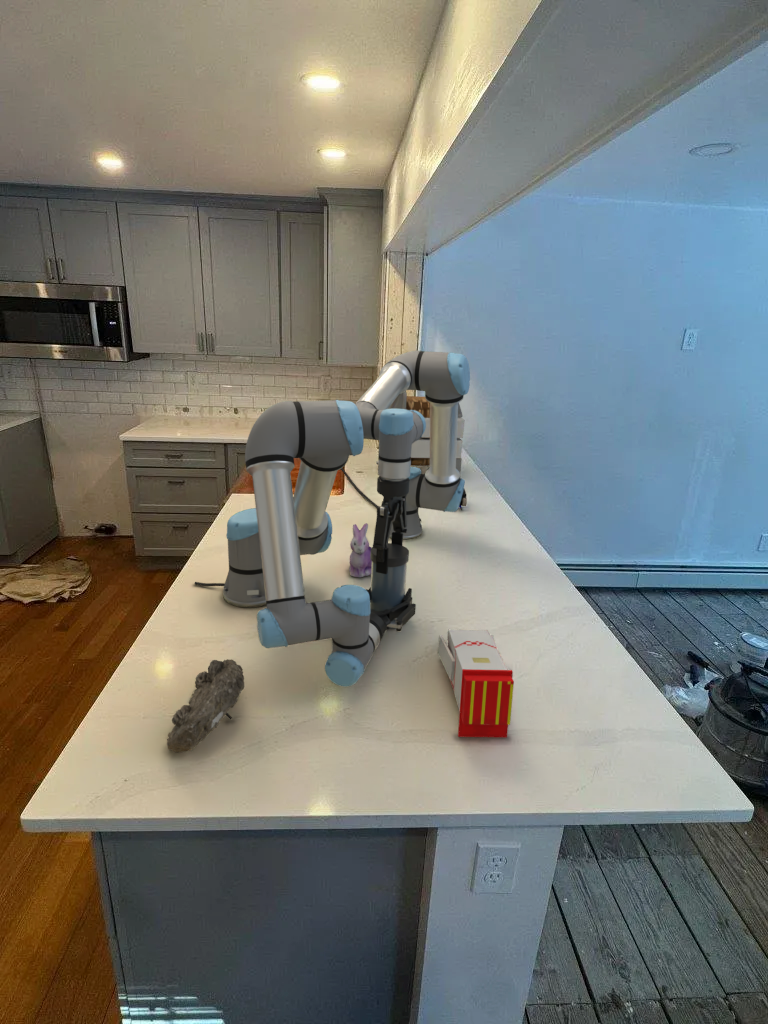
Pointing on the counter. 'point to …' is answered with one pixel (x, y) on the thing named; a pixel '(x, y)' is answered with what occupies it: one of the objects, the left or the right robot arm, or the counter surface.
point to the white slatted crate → (422, 446)
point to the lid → (393, 555)
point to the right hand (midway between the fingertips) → (389, 564)
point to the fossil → (206, 705)
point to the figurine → (360, 553)
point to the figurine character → (463, 500)
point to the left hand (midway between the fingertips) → (392, 589)
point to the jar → (387, 588)
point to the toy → (478, 682)
